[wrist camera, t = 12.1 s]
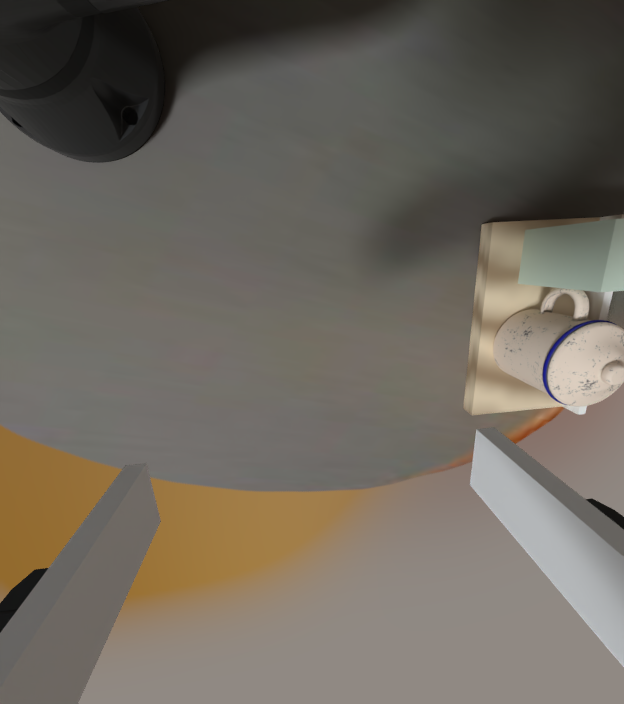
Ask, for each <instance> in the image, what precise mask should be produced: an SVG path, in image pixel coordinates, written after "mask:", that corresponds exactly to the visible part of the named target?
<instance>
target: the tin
mask: <svg viewBox="0 0 624 704" xmlns="http://www.w3.org/2000/svg"><path fill="white" fill-rule="evenodd" d="M518 284H525V285H535V286H544V287H554V288H564V289H574V290H583V291H593V292H611V291H624V219H611V220H603V221H595V222H586V223H578V224H570V225H561V226H553V227H545V228H537V229H528V230H525V235H524V243H523V250H522V257H521V264H520V272H519V279H518Z"/></svg>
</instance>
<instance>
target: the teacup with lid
mask: <svg viewBox="0 0 624 704" xmlns="http://www.w3.org/2000/svg"><path fill="white" fill-rule="evenodd" d="M563 294H568V295H570V296H571V297H572V299H573V301H574V304H575V310H574V315H573V316H568V315H563V314H558V313H553V312H552V311H553V307H554V304H555V301H556V300H557V299H558V297H560V296H561V295H563ZM588 312H589V299H588V297H587V295H586V293H585V292H584V291H583V290H574V289H564V288H557V289H555V290H553V291H551V292H550V293H549V294H547V296H546V297H545V298H544V300H543V302H542V305H541V310H537V309H530V310H525V311H522V312H519V313H517V314H515V315H513V316H512V317H510V318H509V319H508V320H507V321H506V322H505V323H504V324H503V325H502V326H501V328H500V329H499V331H498V332H497V334H496V337H495V340H494V344H493V356H494V359H495V362H496V364H497V365H498V367H499V368H500V369H501V370H502V371H504V372H505V373H507V374H509V375H511V376H513V377H515V378H517V379H519V380H521V381H523V382H525V383H527V384H529V385H531V386H533V387H535V388H537V389H539V390H540V391H542V392H544V393H546V394H548V395H550V397H551V398H553V399H554V400H555V401H557V402H559V403H561V404H564V405H569V406H587V405H591V404H595V403H598V402H600V401H602V400H604V399H605V398H607V397H609V396H610V395H611V394H613V393H614V392H615V391H616V390H617V389H618V388H619V387H620V386H621V385H622V383H623V382H624V329H622V328H621V327H619V326H618V325H616V324H615V323H612V322H609V321H605V320H587V317H588Z"/></svg>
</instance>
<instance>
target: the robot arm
mask: <svg viewBox="0 0 624 704" xmlns="http://www.w3.org/2000/svg"><path fill="white" fill-rule="evenodd" d="M163 1H167V0H0V112H1V113H2V114H3V115H4V116H5V117H6V118H7V119H8V120H9V121H10V122H11V123H12V124H13V125H14V126H16V127H17V128H18V129H19V130H20V131H22V132H23V133H24V134H26V135H27V136H29V137H30V138H32V139H33V140H35V141H36V142H38V143H40V144H42V145H43V146H45V147H47V148H50V149H52V150H54V151H56V152H58V153H60V154H62V155H64V156H67V157H70V158H73V159H76V160H80V161H86V162H109V161H114V160H118V159H120V158H123V157H125V156H128V155H129V154H131V153H133V152H134V151H136V150H137V149H138V148H140V147H141V146H142V145H143V144H144V143H145V142H146V141H147V139H148V138H149V137H150V135H151V134H152V133H153V131H154V129H155V127H156V125H157V123H158V121H159V118H160V115H161V112H162V107H163V102H164V93H165V81H164V71H163V65H162V60H161V56H160V53H159V50H158V47H157V44H156V41H155V39H154V37H153V35H152V32H151V30H150V29H149V27H148V25H147V23H146V21H145V20H144V18H143V16H142V14H141V12H140V11H139V9H138V6H143V5H148V4H153V3H158V2H163ZM470 485H471V487H472V488H473V489H474V490H475V491H476V493H477V494H478V495H479V496H480V497H481V499H483V501H484V502H485V503H486V504H487V505H488V507H489V508H490V509H491V510H492V512H493V513H494V514H495V515H496V516H497V518H498V519H499V520H500V521H501V522H502V523H503V524H504V526H505V527H506V528H507V529H508V531H509V532H510V533H511V534H512V535H513V537H514V538H515V539H516V540H517V541H518V542H519V544H520V545H521V546H522V547H523V548H524V550H525V551H526V552H527V553H528V554H529V556H530V557H531V558H532V559H533V560H534V561H535V563H536V564H537V565H538V566H539V567H540V569H541V570H542V571H543V572H544V573H545V575H546V576H547V577H548V578H549V579H550V580H551V582H552V583H553V584H554V585H555V586H556V588H557V589H558V590H559V591H560V592H561V593H562V595H563V596H564V597H565V598H566V599H567V601H568V602H569V603H570V604H571V605H572V607H573V608H574V609H575V610H576V611H577V612H578V614H579V615H580V616H581V617H582V619H583V620H584V621H585V622H586V623H587V624H588V626H589V627H590V628H591V629H592V630H593V632H594V633H595V634H596V635H597V636H598V638H599V639H600V640H601V641H602V642H603V643H604V645H605V646H606V647H607V648H608V649H609V651H610V652H611V653H612V654H613V655H614V656H615V658H616V659H617V660H618V661H619V662H620V663H621V664H622V666H623V667H624V517H623V516H622V515H620V514H619V513H618V512H616V511H615V510H613V509H611V508H609V507H607V506H605V505H604V504H601V503H600V502H597V501H596V500H594V499H584V498H583V497H582V496H580V495H579V494H578V493H577V492H575V491H574V490H573V489H572V488H570V487H569V486H568V485H566V484H565V483H564V482H563V481H561V480H560V479H559V478H558V477H556V476H555V475H554V474H553V473H551V472H550V471H549V470H547V469H546V468H545V467H544V466H542V465H541V464H540V463H539V462H537V461H536V460H535V459H533V458H532V457H531V456H529V455H528V454H527V453H526V452H525V451H523V450H522V449H521V448H519V447H518V446H517V445H516V444H514V443H513V442H512V441H511V440H509V439H508V438H507V437H505V436H504V435H503V434H502V433H500V432H499V431H498V430H497V429H495V428H484V429H476V437H475V446H474V455H473V463H472V472H471V481H470ZM160 522H161V521H160V517H159V513H158V508H157V504H156V500H155V496H154V492H153V488H152V484H151V480H150V475H149V471H148V467H147V463H145V464H135V465H125V467H124V468H123V469H122V471H121V472H120V473H119V475H118V476H117V477H116V479H115V480H114V481H113V483H112V484H111V486H110V487H109V488H108V490H107V491H106V492H105V494H104V495H103V496H102V498H101V499H100V500H99V502H98V503H97V504H96V506H95V507H94V508H93V510H92V511H91V512H90V514H89V515H88V516H87V518H86V519H85V520H84V522H83V523H82V524H81V526H80V527H79V529H78V530H77V531H76V532H75V534H74V535H73V536H72V538H71V539H70V540H69V542H68V543H67V544H66V546H65V547H64V548H63V550H62V551H61V552H60V554H59V555H58V556H57V558H56V559H55V560H54V562H53V563H52V564H51V566H50V567H49V568H45V569H38V570H34V571H33V572H32V573H30V574H29V575H28V576H27V577H26V578H25V579H23V580H22V581H21V582H20V583H19V584H18V585H16V586H15V587H14V588H13V589H12V590H11V591H10V592H9V594H8V595H7V596H6V597H5V598H4V600H3V601H2V602H1V603H0V704H78V702H79V700H80V698H81V695H82V693H83V691H84V689H85V687H86V684H87V682H88V680H89V678H90V675H91V673H92V671H93V669H94V667H95V665H96V662H97V660H98V658H99V656H100V654H101V651H102V649H103V647H104V645H105V643H106V640H107V638H108V636H109V634H110V631H111V629H112V627H113V625H114V623H115V621H116V618H117V616H118V614H119V612H120V610H121V607H122V605H123V603H124V601H125V599H126V596H127V594H128V592H129V590H130V588H131V585H132V583H133V581H134V579H135V577H136V574H137V572H138V570H139V568H140V566H141V563H142V561H143V559H144V557H145V555H146V552H147V550H148V548H149V546H150V543H151V541H152V539H153V537H154V535H155V533H156V530H157V528H158V526H159V524H160Z"/></svg>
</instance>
